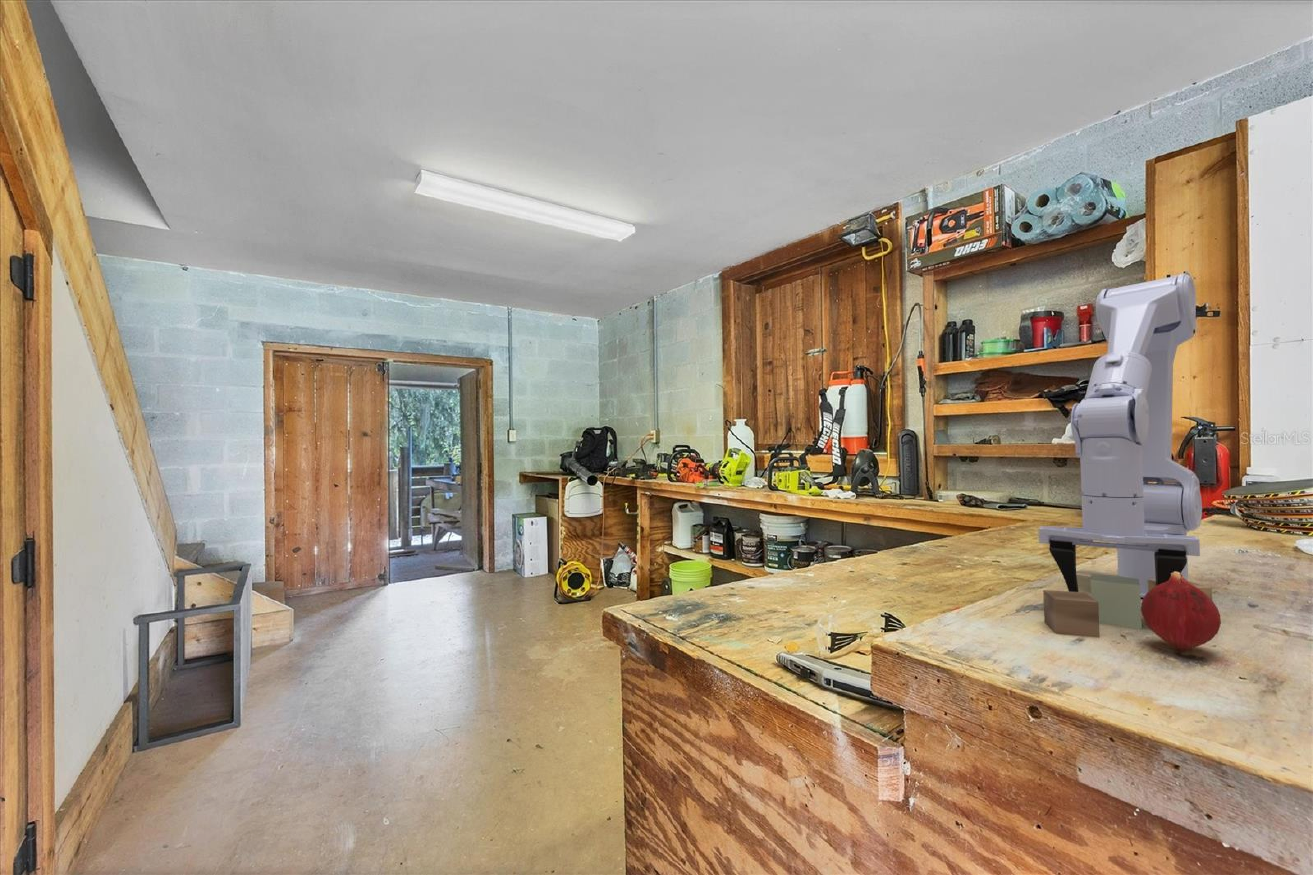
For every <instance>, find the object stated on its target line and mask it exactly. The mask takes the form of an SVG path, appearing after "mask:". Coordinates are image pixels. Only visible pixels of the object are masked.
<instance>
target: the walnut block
mask: <svg viewBox="0 0 1313 875" xmlns="http://www.w3.org/2000/svg"><path fill="white" fill-rule="evenodd" d="M1042 592H1043V616H1044V617H1043V619H1044V624H1045V625H1046V626H1048V628H1049V629H1051V630H1052V632H1054V634H1056V635H1064V636H1065V635H1067V636H1077V637H1086V638H1087V637H1088V638H1099V639H1100V636H1101V635H1100V623H1099V604H1098V601H1096V600H1095V599H1093V598H1092V597H1090V596H1088V595H1087V594H1085V593H1084V592H1069V591H1068V590H1065V591H1064V590H1051V589H1050V590H1049V589H1043V591H1042Z"/></svg>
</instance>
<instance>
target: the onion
mask: <svg viewBox="0 0 1313 875" xmlns="http://www.w3.org/2000/svg"><path fill="white" fill-rule="evenodd" d="M1188 581H1189V580H1188ZM1188 581H1187V580H1186V579H1185V578H1184V577H1183V575H1182V574H1181V573H1179V572H1176V571H1174V572H1173V573H1171V577H1170V579H1169V580H1168V581H1166V582H1164V583H1162V584H1159V585H1157V586H1155V587H1154V588H1152V589H1151V590H1150V591H1149V592H1148V593H1147V594H1146V595H1145V596H1144V598H1143V597H1142V598H1143V599H1142V600H1141V616H1142V618H1143V620H1144V621H1145V623H1146V625H1147V626H1148V627H1149V629H1150V630H1151V631H1152V632H1153V633H1154V634H1155V635H1156V636H1157V637H1159V638H1160V639H1161V640H1163V641H1164V642H1166V643H1167V644H1168V645H1170V646H1171V647H1172V649H1175V650H1177V651H1179V652H1180V651H1182V652H1184V651H1188V650H1191V649H1193V648H1196V647H1199V646H1202V645H1204V644H1206V643H1208V642H1210V641H1212V640H1213V638H1214V637H1216V636H1217V634H1218V633H1219V630H1220V627H1221V624H1222V620H1221V614H1220V611H1219V608H1218V607H1217V605H1216V604H1215V602H1214V601H1213V599H1212V600H1211V599H1210V598H1209V596H1207V595H1206V594H1205V593H1204V592H1203V591H1202V590H1200V589H1199V588H1197V587H1195V586H1193V585H1192V584H1190V583H1189V582H1188Z"/></svg>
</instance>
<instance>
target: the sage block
mask: <svg viewBox="0 0 1313 875" xmlns="http://www.w3.org/2000/svg"><path fill="white" fill-rule="evenodd" d="M1091 597H1092V598H1093V599H1095V600H1096V601H1098V604H1099V624H1102V625H1103V624H1104V625H1110V626H1116V627H1123V628H1129V629H1130V628H1131V629H1137V630H1142V612H1141V603H1142V600H1141V598H1142V597H1140V583H1139V578H1130V577H1121V576H1112V575H1103V574H1093V573H1092V574H1091Z"/></svg>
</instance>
